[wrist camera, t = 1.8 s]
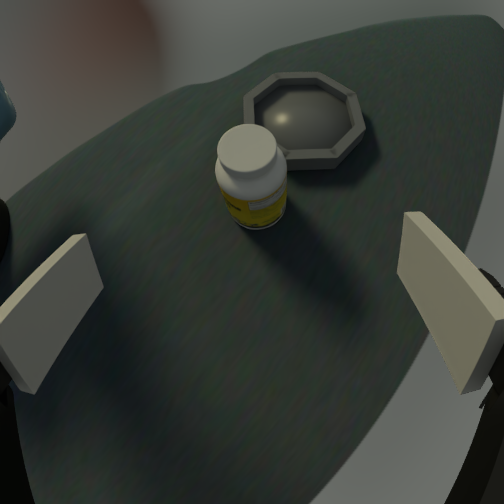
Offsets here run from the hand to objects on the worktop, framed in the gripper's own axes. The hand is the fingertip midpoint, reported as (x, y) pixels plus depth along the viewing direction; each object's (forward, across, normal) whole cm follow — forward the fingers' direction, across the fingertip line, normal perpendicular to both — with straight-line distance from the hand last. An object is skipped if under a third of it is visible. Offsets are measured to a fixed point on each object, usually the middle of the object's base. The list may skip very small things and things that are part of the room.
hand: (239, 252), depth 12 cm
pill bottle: (+22, -1, -6) cm, 23 cm away
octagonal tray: (+30, +5, +2) cm, 30 cm away
